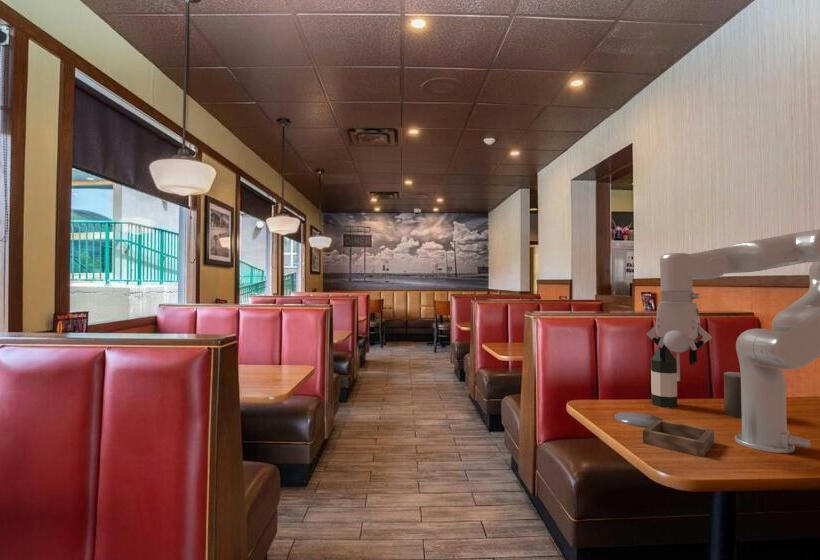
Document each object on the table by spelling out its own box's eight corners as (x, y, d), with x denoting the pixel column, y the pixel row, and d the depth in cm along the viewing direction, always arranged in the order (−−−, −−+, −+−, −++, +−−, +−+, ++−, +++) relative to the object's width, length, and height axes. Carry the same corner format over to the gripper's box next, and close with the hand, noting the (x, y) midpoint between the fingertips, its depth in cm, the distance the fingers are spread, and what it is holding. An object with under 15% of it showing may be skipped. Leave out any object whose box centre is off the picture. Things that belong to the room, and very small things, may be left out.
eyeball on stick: (685, 378, 121) (684, 325, 122) (699, 383, 114) (698, 327, 115) (658, 378, 122) (657, 325, 122) (671, 383, 115) (670, 327, 115)
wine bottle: (682, 409, 151) (681, 324, 152) (659, 409, 151) (657, 324, 152) (669, 402, 160) (668, 322, 160) (646, 402, 160) (645, 322, 160)
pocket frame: (714, 442, 118) (713, 430, 118) (703, 457, 108) (703, 443, 108) (657, 431, 128) (657, 419, 128) (642, 443, 118) (642, 430, 118)
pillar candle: (746, 420, 138) (745, 374, 138) (717, 412, 147) (716, 368, 148) (768, 418, 140) (767, 372, 141) (738, 410, 150) (737, 367, 150)
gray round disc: (669, 420, 138) (669, 418, 138) (657, 431, 128) (657, 428, 128) (623, 412, 147) (623, 409, 148) (608, 421, 137) (608, 418, 137)
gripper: (716, 297, 115) (718, 364, 115) (646, 297, 127) (647, 358, 127) (711, 298, 110) (713, 368, 110) (638, 298, 122) (640, 361, 122)
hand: (678, 362), depth 118 cm, fingers closed on eyeball on stick, 5 cm apart
